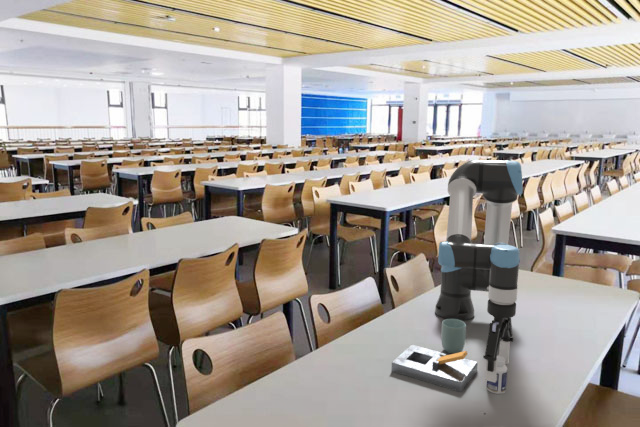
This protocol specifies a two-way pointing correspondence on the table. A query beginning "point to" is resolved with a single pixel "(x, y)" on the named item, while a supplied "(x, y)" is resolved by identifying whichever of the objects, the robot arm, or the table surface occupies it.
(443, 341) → the cup
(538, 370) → the table surface
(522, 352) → the table surface
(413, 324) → the table surface
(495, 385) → the pill bottle
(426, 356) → the hitch plate
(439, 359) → the lever
